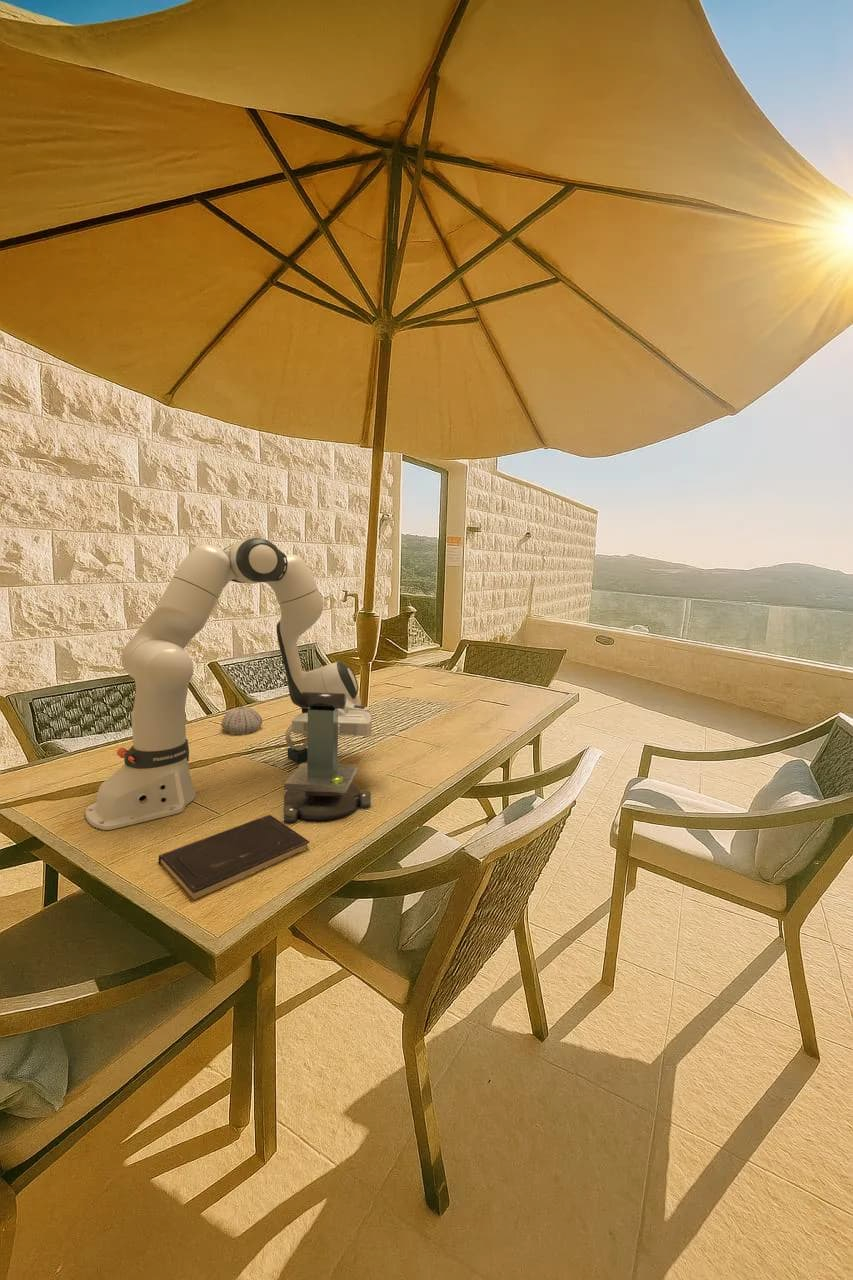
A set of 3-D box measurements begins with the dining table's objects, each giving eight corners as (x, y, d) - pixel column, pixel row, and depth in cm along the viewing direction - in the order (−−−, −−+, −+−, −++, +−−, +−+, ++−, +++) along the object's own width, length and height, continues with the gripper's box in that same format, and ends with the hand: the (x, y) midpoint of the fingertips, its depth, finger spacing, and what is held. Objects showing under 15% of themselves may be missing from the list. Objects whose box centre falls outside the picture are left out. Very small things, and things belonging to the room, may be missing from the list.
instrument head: (302, 768, 128) (302, 686, 126) (357, 770, 127) (358, 688, 125) (284, 790, 114) (284, 698, 112) (345, 792, 114) (347, 700, 112)
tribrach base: (298, 783, 132) (298, 763, 131) (376, 787, 131) (376, 767, 131) (271, 823, 112) (270, 799, 111) (363, 827, 111) (363, 803, 110)
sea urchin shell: (253, 721, 183) (252, 700, 182) (268, 731, 173) (268, 708, 172) (215, 728, 175) (214, 706, 173) (229, 739, 164) (228, 715, 163)
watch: (316, 758, 150) (316, 722, 148) (292, 765, 144) (291, 728, 143) (305, 753, 154) (305, 718, 152) (282, 759, 148) (281, 723, 147)
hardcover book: (309, 851, 102) (309, 841, 102) (193, 904, 86) (193, 891, 85) (268, 823, 113) (268, 813, 113) (158, 864, 96) (158, 853, 96)
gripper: (299, 705, 136) (283, 720, 122) (375, 707, 135) (367, 723, 122) (299, 727, 137) (283, 745, 123) (375, 730, 136) (367, 748, 122)
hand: (325, 734), depth 122 cm, fingers closed, pressing on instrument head
